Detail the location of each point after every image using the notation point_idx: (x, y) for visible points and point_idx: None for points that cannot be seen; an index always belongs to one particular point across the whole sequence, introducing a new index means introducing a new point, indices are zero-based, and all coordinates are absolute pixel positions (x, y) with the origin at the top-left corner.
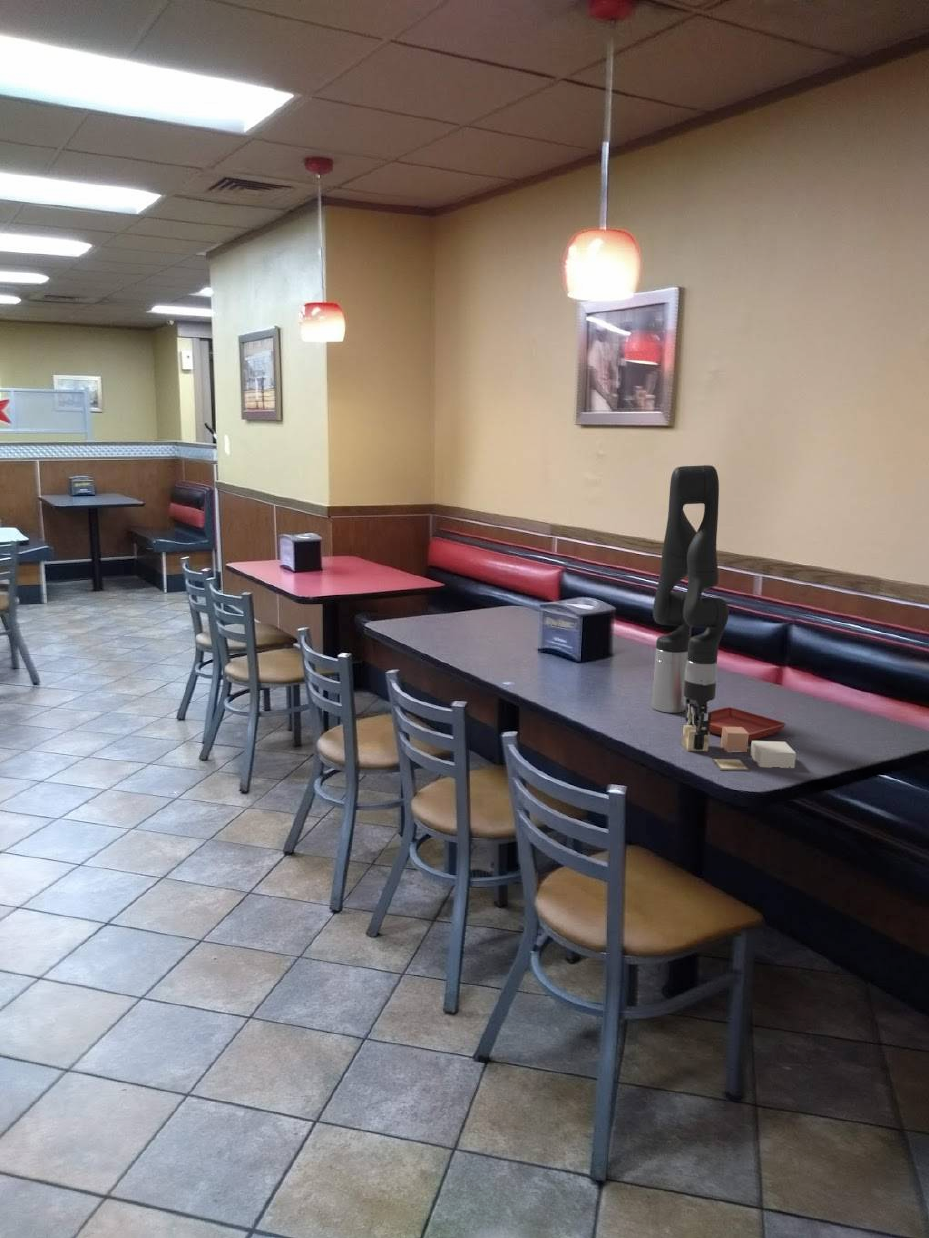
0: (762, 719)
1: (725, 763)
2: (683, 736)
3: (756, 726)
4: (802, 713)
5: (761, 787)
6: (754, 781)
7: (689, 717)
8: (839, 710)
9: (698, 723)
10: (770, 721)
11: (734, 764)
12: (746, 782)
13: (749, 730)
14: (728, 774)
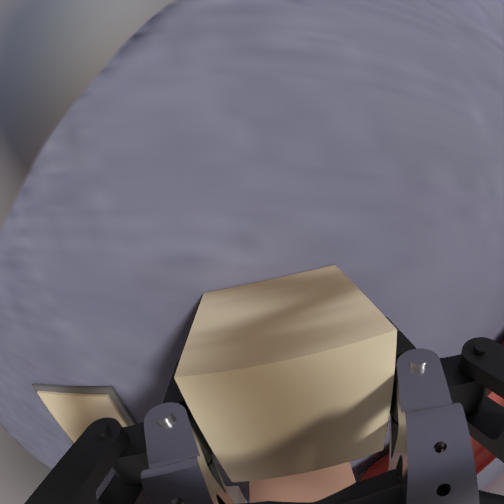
0: (478, 466)
1: (84, 418)
2: (336, 290)
3: None
4: (496, 465)
5: (8, 426)
6: (26, 430)
7: (402, 442)
8: (485, 484)
9: (72, 493)
10: None
11: None
12: (9, 411)
13: None
14: (22, 393)
